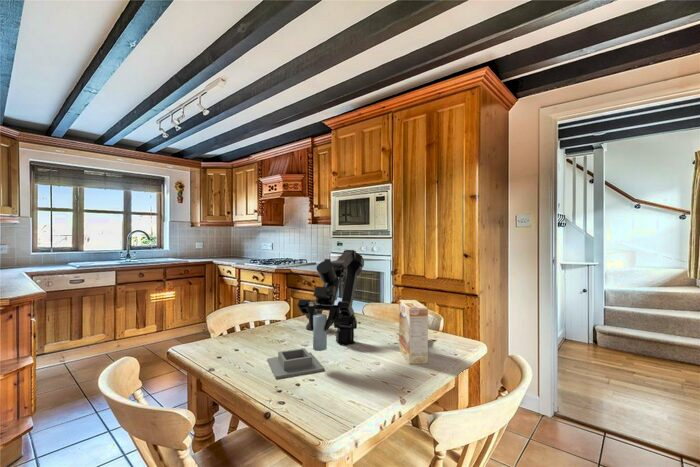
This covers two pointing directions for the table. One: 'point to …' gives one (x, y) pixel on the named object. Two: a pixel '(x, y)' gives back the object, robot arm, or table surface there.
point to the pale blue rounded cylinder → (319, 332)
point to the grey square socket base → (294, 363)
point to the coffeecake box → (413, 331)
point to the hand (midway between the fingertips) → (318, 329)
